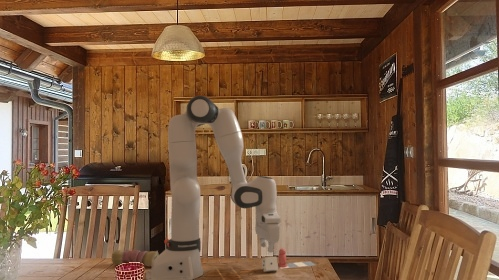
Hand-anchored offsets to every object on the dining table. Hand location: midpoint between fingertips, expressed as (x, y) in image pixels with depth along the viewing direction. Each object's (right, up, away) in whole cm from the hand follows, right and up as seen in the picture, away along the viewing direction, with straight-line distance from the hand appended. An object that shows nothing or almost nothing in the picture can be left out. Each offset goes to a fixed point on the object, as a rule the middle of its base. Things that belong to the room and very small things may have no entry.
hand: (266, 249), depth 157 cm
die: (+1, -6, -2) cm, 7 cm away
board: (+12, -9, +4) cm, 16 cm away
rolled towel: (-56, -10, +8) cm, 57 cm away
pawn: (+7, -8, +2) cm, 10 cm away
